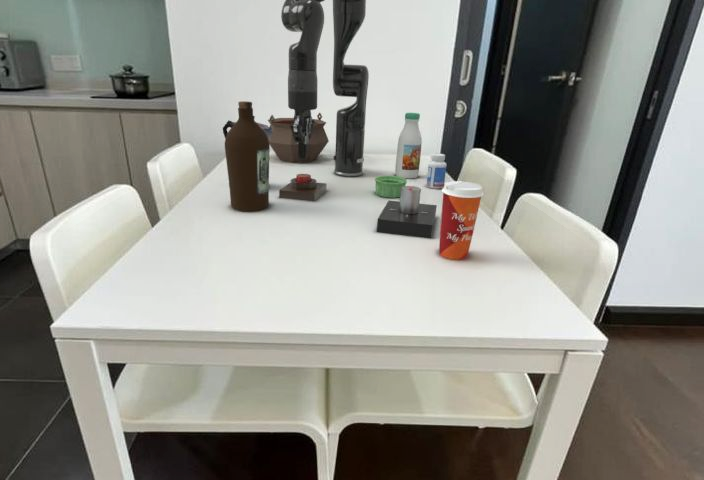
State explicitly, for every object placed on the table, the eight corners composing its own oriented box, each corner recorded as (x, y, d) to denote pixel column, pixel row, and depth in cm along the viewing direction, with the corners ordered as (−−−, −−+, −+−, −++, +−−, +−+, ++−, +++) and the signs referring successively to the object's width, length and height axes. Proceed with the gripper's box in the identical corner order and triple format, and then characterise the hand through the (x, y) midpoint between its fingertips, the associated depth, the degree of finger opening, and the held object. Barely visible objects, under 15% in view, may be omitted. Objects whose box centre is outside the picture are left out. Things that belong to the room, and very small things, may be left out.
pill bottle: (446, 186, 143) (450, 154, 139) (439, 189, 139) (444, 157, 135) (430, 183, 146) (433, 152, 142) (423, 187, 142) (426, 154, 138)
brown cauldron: (303, 150, 190) (304, 108, 183) (341, 161, 174) (343, 115, 167) (252, 156, 176) (250, 111, 169) (288, 168, 160) (287, 118, 153)
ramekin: (369, 196, 131) (370, 180, 129) (379, 188, 138) (380, 174, 136) (400, 200, 128) (402, 184, 126) (408, 192, 135) (410, 177, 133)
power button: (299, 179, 131) (299, 173, 130) (312, 180, 130) (312, 174, 129) (294, 182, 127) (294, 176, 126) (308, 183, 126) (308, 177, 125)
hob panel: (387, 211, 118) (388, 199, 116) (435, 216, 115) (436, 204, 114) (376, 231, 103) (377, 218, 102) (430, 238, 101) (432, 224, 100)
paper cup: (450, 264, 88) (461, 192, 82) (425, 250, 94) (434, 182, 88) (481, 258, 91) (494, 188, 86) (455, 245, 98) (465, 179, 92)
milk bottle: (392, 177, 153) (397, 113, 144) (398, 172, 159) (403, 111, 151) (415, 180, 150) (422, 115, 141) (420, 175, 156) (427, 112, 148)
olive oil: (221, 210, 114) (213, 102, 104) (239, 199, 124) (233, 99, 113) (262, 214, 112) (258, 104, 102) (276, 202, 122) (274, 101, 111)
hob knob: (400, 207, 110) (402, 183, 108) (419, 209, 109) (421, 185, 107) (398, 213, 106) (400, 188, 104) (417, 215, 106) (420, 190, 103)
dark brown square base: (293, 187, 136) (293, 174, 135) (326, 190, 134) (326, 177, 132) (279, 198, 126) (278, 183, 124) (314, 201, 124) (314, 187, 122)
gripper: (308, 91, 112) (308, 163, 119) (324, 88, 123) (322, 154, 131) (279, 90, 113) (281, 161, 121) (297, 86, 125) (297, 152, 133)
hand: (302, 157), depth 126 cm, fingers closed
